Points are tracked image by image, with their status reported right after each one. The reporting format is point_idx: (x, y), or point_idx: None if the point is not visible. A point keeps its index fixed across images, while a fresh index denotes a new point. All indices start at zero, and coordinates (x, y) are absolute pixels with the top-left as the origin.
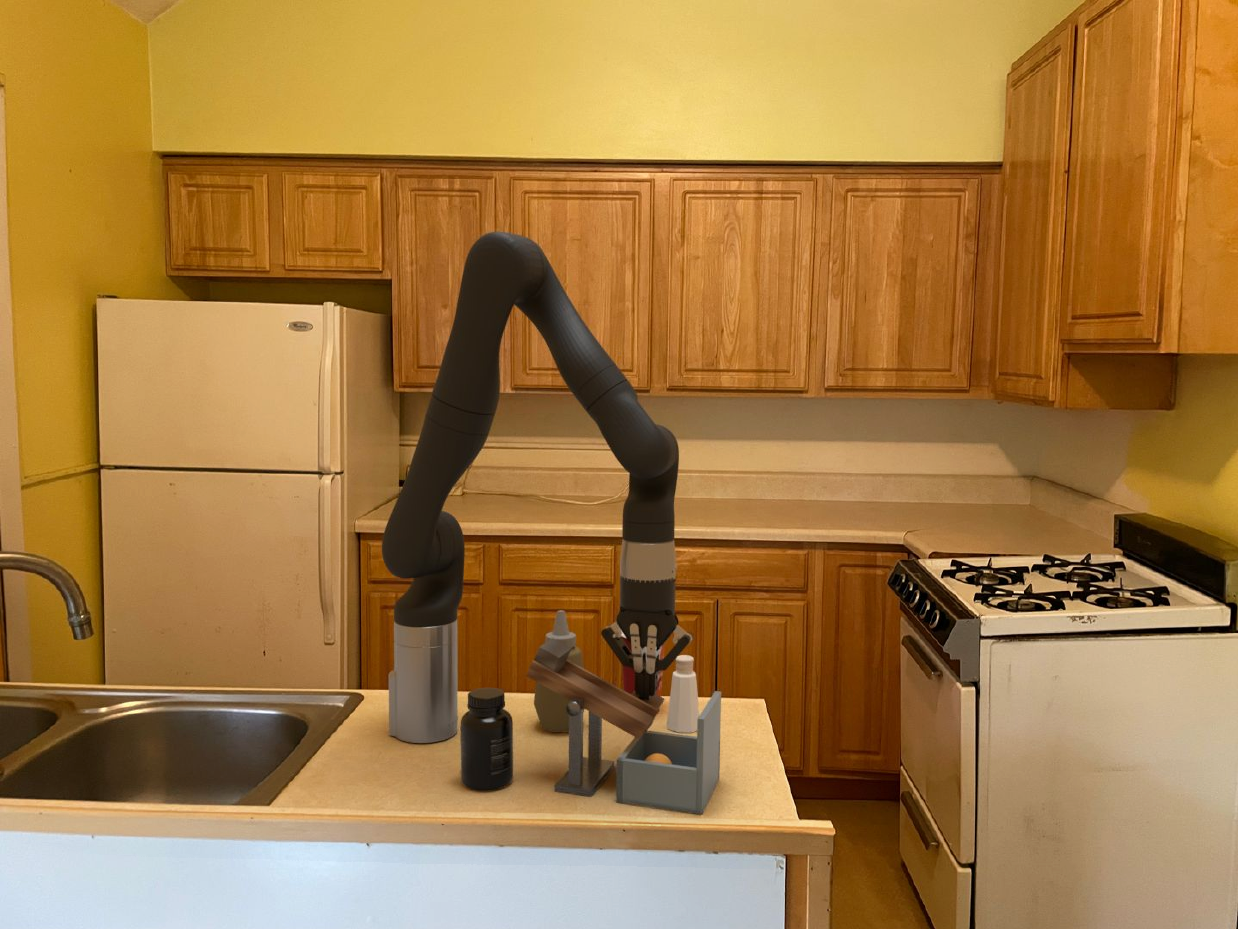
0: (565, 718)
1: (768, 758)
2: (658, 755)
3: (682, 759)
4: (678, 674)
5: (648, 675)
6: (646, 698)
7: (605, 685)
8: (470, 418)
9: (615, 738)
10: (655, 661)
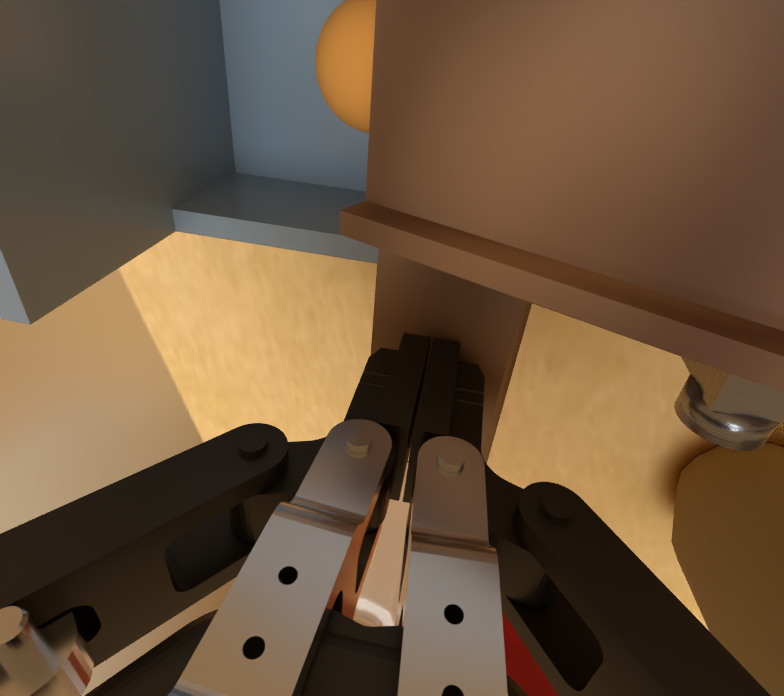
0: (747, 469)
1: (158, 340)
2: (358, 63)
3: (314, 198)
4: (372, 611)
5: (382, 416)
6: (417, 335)
7: (699, 318)
8: None
9: (563, 419)
10: (302, 487)
